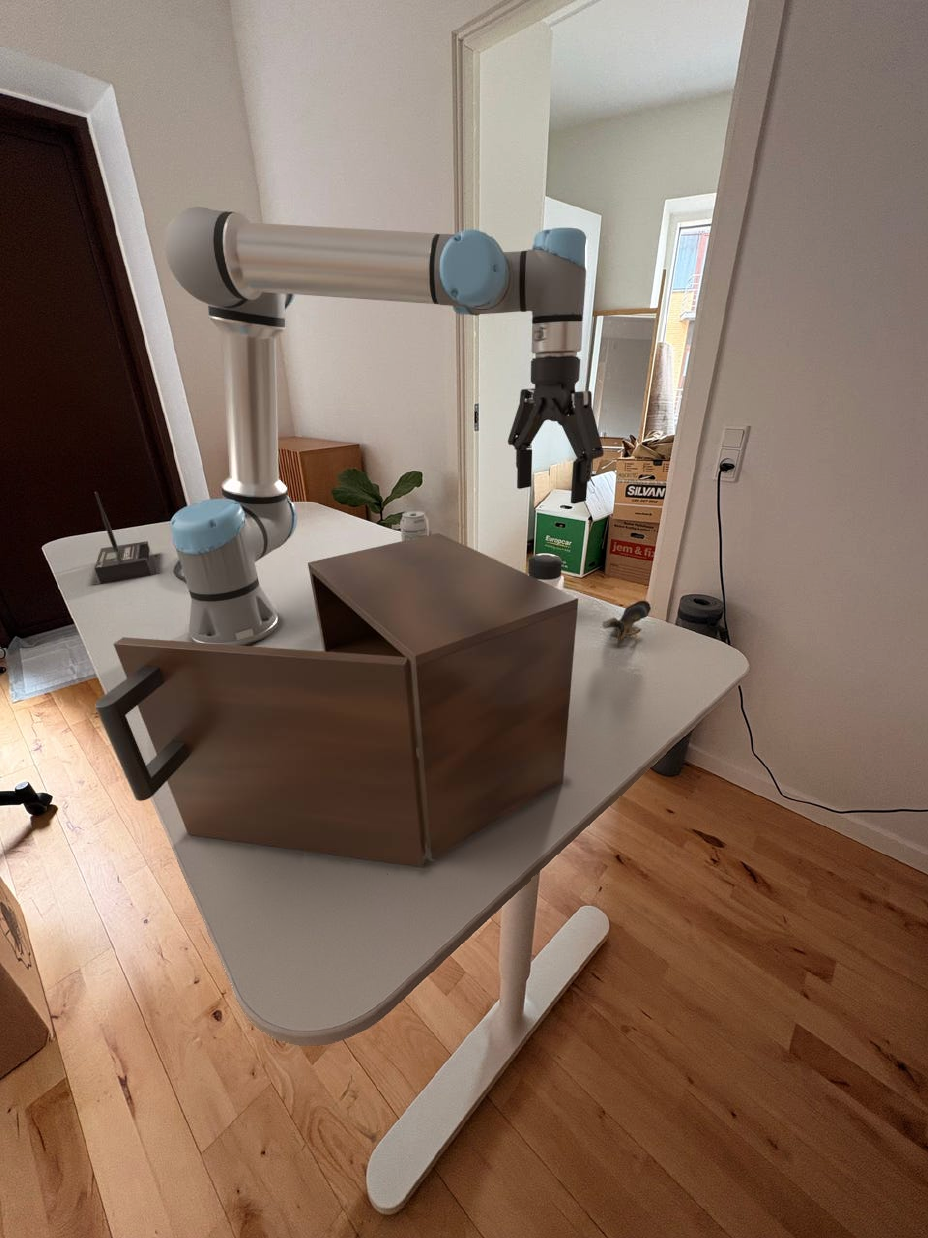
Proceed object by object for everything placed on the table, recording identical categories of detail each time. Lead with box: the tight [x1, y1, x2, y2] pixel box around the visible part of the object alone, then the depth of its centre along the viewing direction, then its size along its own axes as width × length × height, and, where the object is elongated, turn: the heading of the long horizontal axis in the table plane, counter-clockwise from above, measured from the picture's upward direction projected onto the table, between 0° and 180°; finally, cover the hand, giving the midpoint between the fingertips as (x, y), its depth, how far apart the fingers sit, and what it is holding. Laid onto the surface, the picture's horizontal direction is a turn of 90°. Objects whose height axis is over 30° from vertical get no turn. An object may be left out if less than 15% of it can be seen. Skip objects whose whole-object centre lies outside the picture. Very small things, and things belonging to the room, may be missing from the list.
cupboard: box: [307, 532, 579, 859], centre depth 60 cm, size 18×26×24 cm
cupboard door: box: [94, 637, 427, 868], centre depth 46 cm, size 7×26×24 cm, turn 80°
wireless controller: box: [91, 491, 161, 586], centre depth 125 cm, size 20×14×17 cm
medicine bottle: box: [526, 553, 565, 591], centre depth 96 cm, size 7×7×12 cm
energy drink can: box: [399, 510, 430, 541], centre depth 114 cm, size 6×6×15 cm
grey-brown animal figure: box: [601, 600, 652, 648], centre depth 89 cm, size 8×7×9 cm
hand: (549, 494), depth 88 cm, fingers open, 13 cm apart
